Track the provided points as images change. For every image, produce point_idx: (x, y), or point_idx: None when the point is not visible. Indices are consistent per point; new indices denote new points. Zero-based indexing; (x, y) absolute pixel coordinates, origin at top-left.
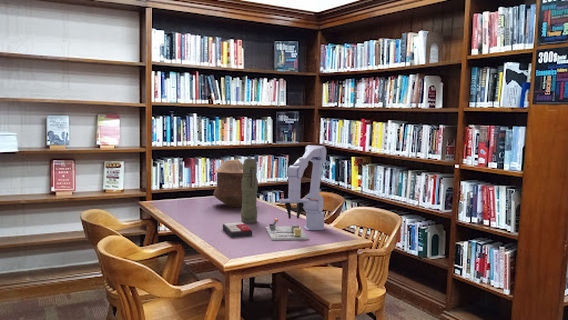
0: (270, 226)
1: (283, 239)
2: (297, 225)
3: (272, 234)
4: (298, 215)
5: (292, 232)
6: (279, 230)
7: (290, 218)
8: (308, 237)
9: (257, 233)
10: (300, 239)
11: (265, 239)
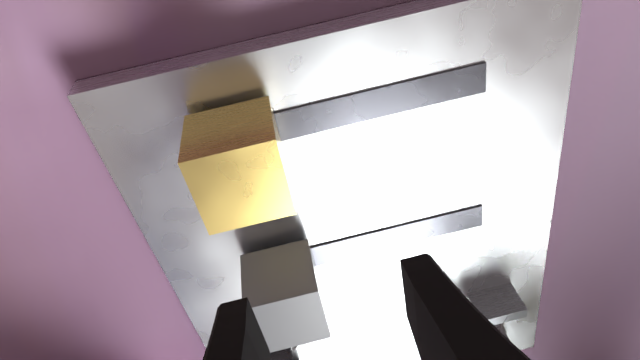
0: None
1: (416, 4)
2: None
3: (534, 136)
4: (228, 356)
5: None
6: None
7: (405, 262)
8: (70, 92)
9: (630, 207)
10: (185, 55)
11: (626, 6)
